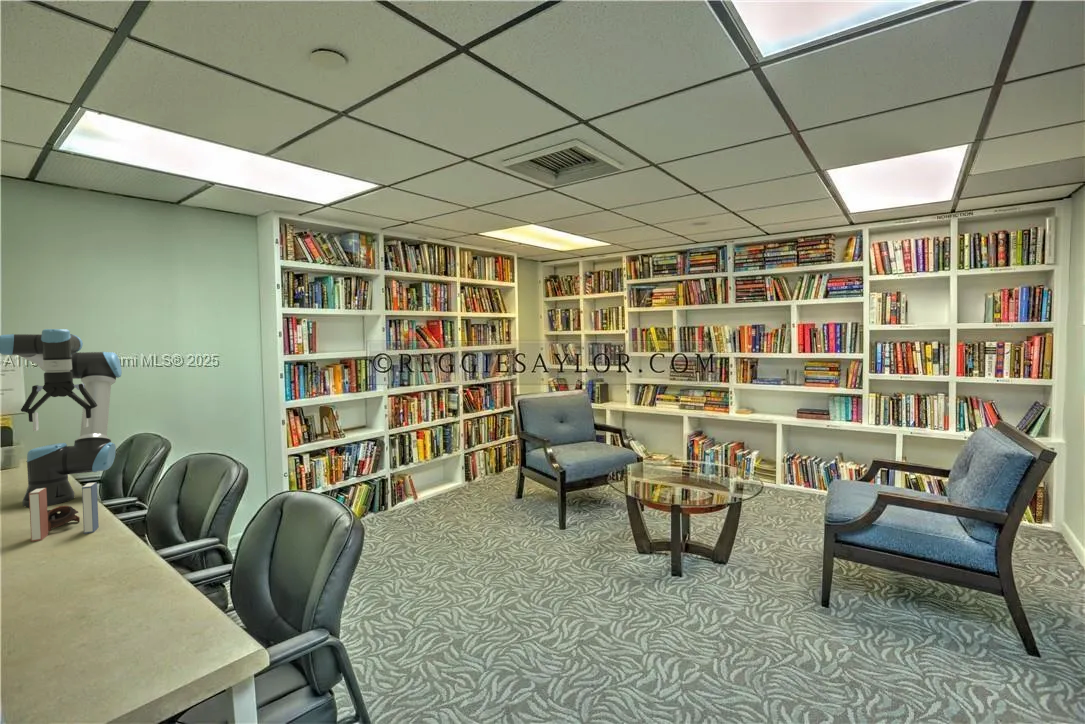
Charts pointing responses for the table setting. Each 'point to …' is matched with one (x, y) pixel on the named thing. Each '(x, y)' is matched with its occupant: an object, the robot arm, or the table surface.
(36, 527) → the brick red book
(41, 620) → the table surface
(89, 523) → the navy book
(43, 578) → the table surface
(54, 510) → the pottery mug
